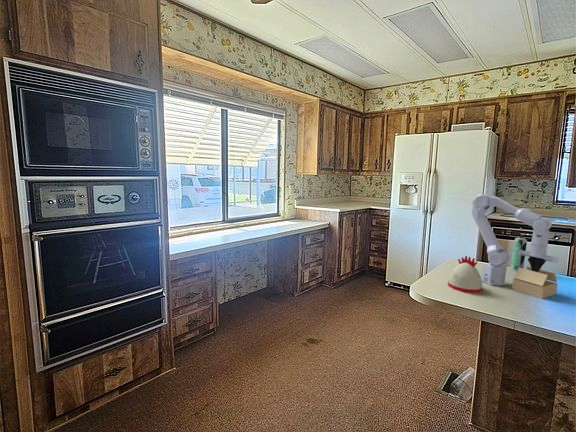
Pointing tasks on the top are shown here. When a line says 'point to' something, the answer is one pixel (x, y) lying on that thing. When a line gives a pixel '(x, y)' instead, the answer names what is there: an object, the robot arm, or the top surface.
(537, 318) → the top surface
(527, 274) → the near flap
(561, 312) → the top surface
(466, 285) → the kitchen timer
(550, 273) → the far flap
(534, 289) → the carton
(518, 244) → the spray can
